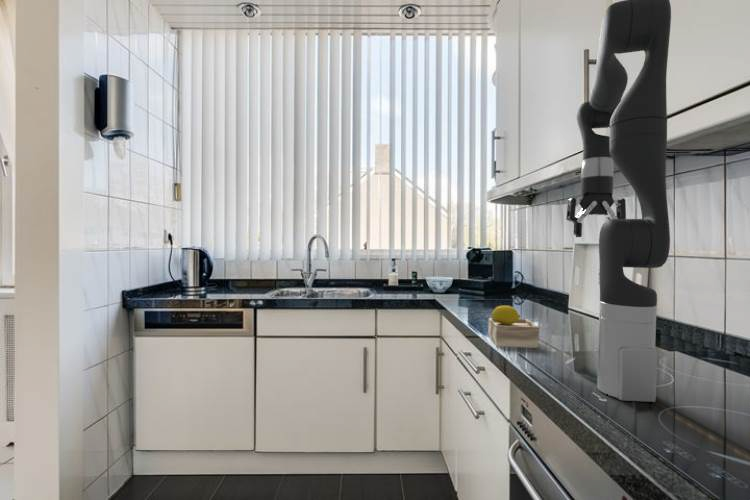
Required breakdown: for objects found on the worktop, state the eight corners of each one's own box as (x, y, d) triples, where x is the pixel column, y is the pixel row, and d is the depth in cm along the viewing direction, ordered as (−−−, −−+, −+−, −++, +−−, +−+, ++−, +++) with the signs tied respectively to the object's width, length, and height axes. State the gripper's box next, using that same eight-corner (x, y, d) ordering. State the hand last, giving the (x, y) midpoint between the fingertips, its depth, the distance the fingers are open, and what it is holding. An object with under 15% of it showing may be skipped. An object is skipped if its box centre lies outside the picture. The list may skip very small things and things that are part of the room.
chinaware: (421, 290, 230) (421, 276, 230) (444, 289, 235) (445, 276, 235) (432, 293, 216) (433, 279, 216) (457, 293, 221) (457, 279, 220)
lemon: (518, 329, 113) (489, 326, 117) (521, 321, 118) (493, 317, 122) (518, 312, 112) (489, 308, 115) (521, 303, 116) (493, 301, 120)
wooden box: (538, 349, 109) (539, 327, 109) (496, 347, 110) (496, 326, 110) (526, 339, 120) (526, 319, 120) (488, 337, 121) (488, 318, 121)
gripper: (575, 174, 104) (573, 237, 104) (632, 174, 103) (630, 237, 103) (563, 178, 112) (562, 237, 112) (617, 178, 110) (615, 238, 111)
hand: (595, 237), depth 108 cm, fingers open, 8 cm apart
